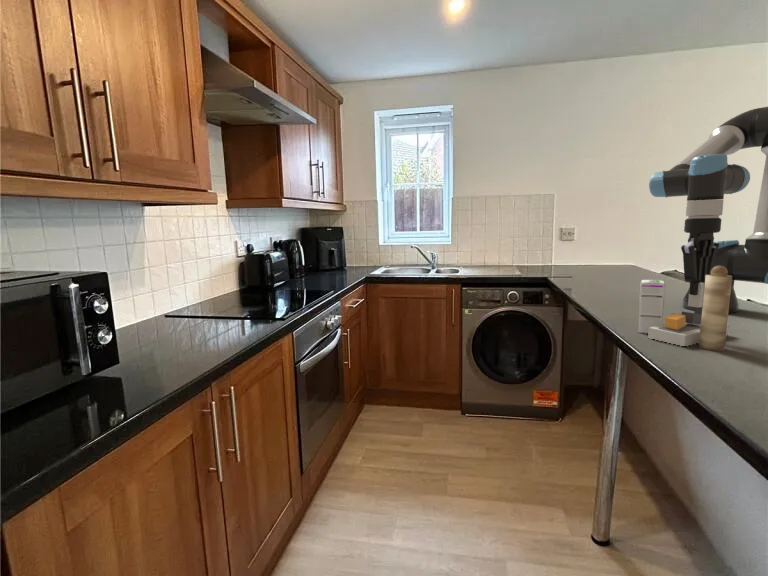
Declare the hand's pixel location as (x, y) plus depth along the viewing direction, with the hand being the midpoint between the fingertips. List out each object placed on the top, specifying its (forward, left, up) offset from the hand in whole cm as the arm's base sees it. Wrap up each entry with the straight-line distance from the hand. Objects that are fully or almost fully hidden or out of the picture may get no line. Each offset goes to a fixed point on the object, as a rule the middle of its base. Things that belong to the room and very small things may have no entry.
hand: (694, 306), depth 111 cm
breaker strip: (+2, 0, -8) cm, 8 cm away
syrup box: (+5, -8, -8) cm, 13 cm away
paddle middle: (+2, 0, -5) cm, 6 cm away
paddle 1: (+8, 0, -5) cm, 9 cm away
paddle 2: (-4, 0, -5) cm, 7 cm away
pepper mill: (+7, +8, -8) cm, 13 cm away
